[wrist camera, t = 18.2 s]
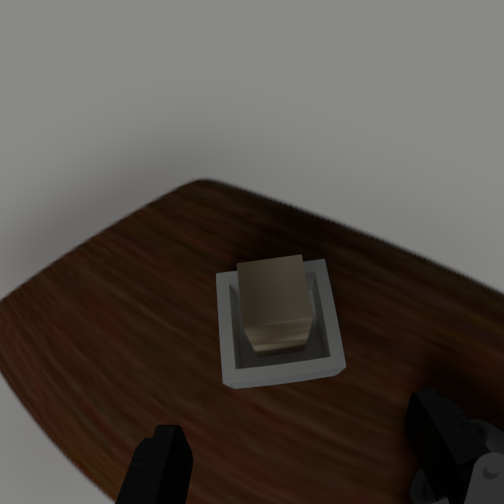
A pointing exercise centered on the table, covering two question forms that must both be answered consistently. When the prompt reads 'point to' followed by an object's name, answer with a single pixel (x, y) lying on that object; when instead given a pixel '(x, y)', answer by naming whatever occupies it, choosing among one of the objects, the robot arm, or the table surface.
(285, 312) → the birch peg
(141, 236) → the table surface
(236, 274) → the socket stand
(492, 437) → the bluetooth speaker
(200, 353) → the table surface
